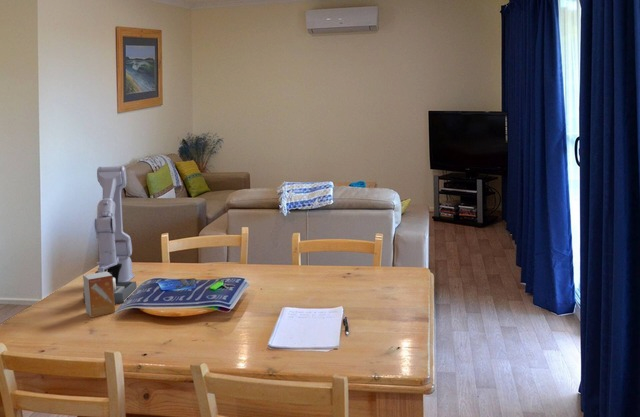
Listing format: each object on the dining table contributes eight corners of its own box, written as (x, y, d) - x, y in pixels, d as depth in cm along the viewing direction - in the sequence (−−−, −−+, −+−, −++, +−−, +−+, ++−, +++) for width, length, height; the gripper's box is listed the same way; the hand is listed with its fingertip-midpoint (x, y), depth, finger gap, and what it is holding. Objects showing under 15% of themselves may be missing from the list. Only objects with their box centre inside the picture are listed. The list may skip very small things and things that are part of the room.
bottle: (107, 293, 259) (105, 273, 258) (118, 293, 259) (116, 273, 257) (103, 296, 255) (101, 276, 254) (114, 296, 255) (112, 276, 253)
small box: (91, 317, 235) (87, 279, 233) (85, 312, 241) (82, 275, 238) (115, 312, 240) (112, 274, 237) (109, 307, 245) (106, 270, 243)
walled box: (99, 290, 265) (98, 281, 264) (136, 290, 263) (136, 281, 263) (84, 302, 251) (83, 293, 250) (123, 303, 250) (122, 293, 249)
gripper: (104, 245, 261) (107, 281, 264) (87, 255, 247) (91, 293, 250) (123, 245, 261) (125, 281, 263) (107, 255, 246) (111, 293, 249)
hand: (110, 287), depth 256 cm, fingers open, 7 cm apart
